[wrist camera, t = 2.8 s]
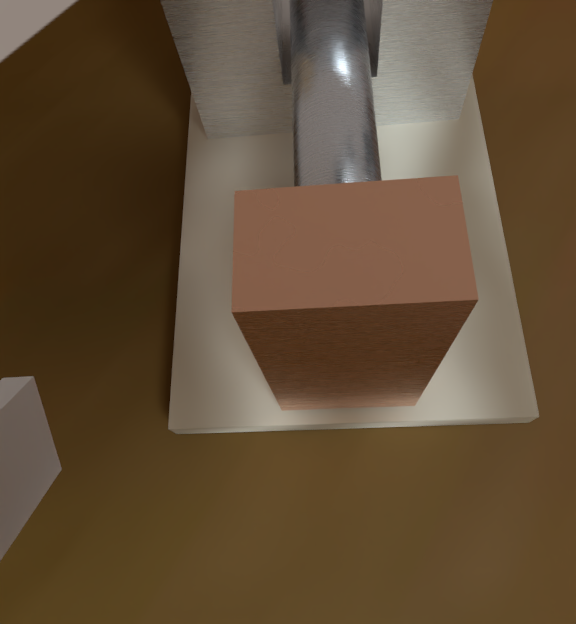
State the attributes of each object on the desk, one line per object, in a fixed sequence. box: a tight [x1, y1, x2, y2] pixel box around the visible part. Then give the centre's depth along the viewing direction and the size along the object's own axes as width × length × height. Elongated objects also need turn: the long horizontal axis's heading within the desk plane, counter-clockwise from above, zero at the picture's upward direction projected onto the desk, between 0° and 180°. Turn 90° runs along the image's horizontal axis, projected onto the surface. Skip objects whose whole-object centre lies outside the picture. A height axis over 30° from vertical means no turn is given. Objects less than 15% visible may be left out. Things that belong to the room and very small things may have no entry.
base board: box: [168, 76, 539, 434], centre depth 25 cm, size 14×23×1 cm, turn 1°
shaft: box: [231, 0, 479, 411], centre depth 19 cm, size 5×18×10 cm, turn 1°
